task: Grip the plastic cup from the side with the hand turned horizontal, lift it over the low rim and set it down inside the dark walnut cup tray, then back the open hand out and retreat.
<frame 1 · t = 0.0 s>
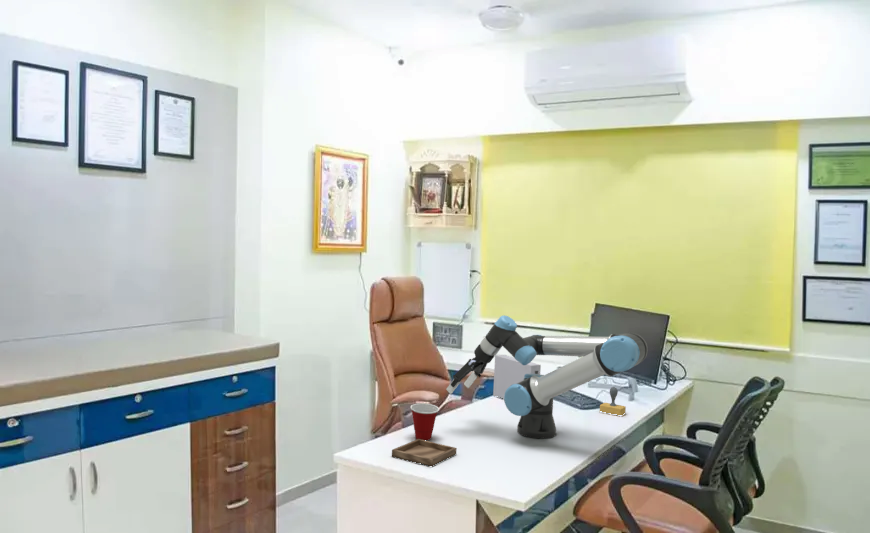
hand: (457, 388, 263), 15 cm above the table, tool tilted 35°, fingers open, 13 cm apart
cup tray: (424, 455, 227), on the table
plastic cup: (423, 439, 246), on the table
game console: (515, 402, 308), on the table
rubber stamp: (612, 414, 295), on the table
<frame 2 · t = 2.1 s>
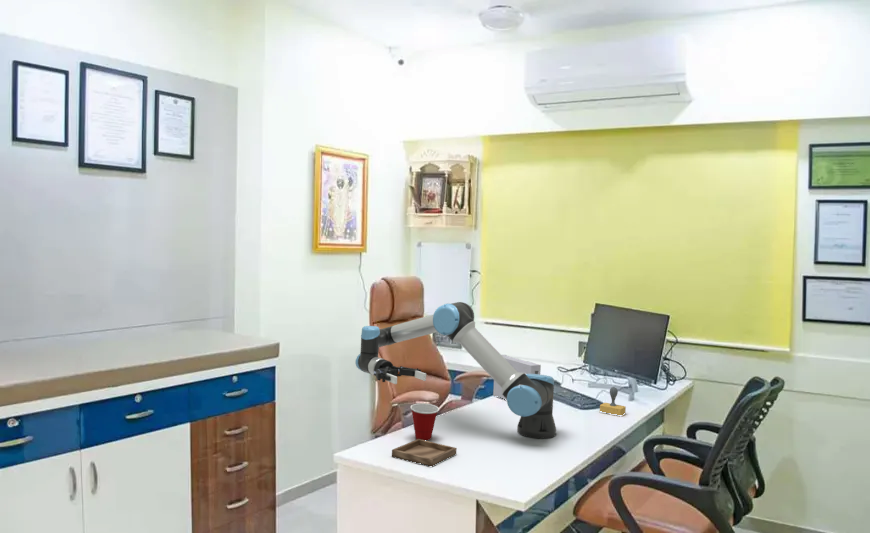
hand: (411, 378, 253), 21 cm above the table, tool horizontal, fingers open, 13 cm apart
nothing on the table moved.
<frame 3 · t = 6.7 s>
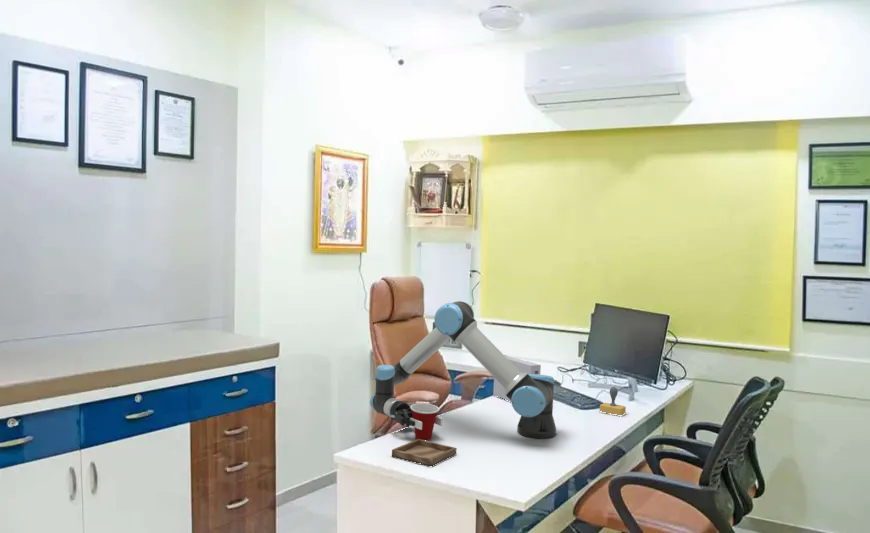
hand: (431, 424, 242), 7 cm above the table, tool horizontal, fingers closed on plastic cup, 9 cm apart
plastic cup: (423, 439, 246), on the table, touching gripper
everything else where it was.
when the fingers open (8 cm above the table, at t = 12.1 s): plastic cup drops 1 cm, resting on cup tray.
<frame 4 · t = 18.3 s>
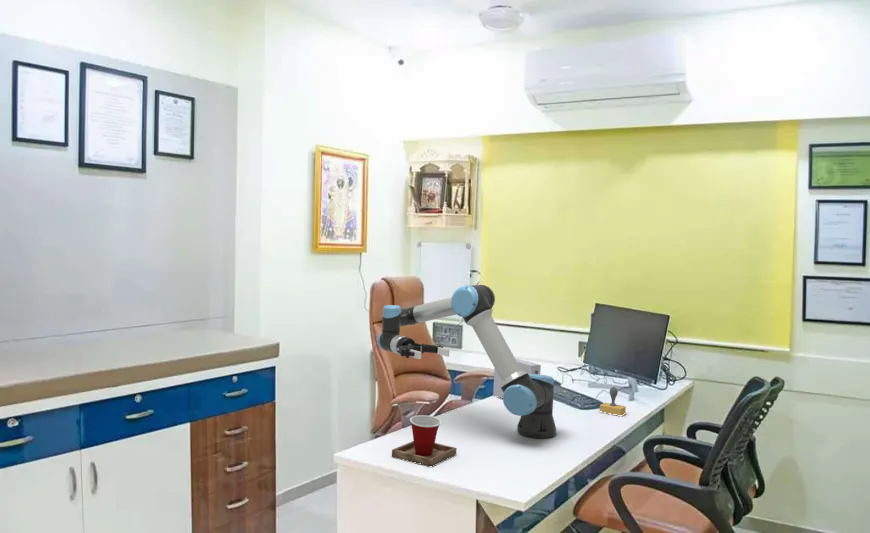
hand: (434, 354, 255), 30 cm above the table, tool horizontal, fingers open, 13 cm apart
plastic cup: (424, 454, 227), resting on cup tray
everything else where it was.
at the end: plastic cup inside the target area on the cup tray (0.1 cm from its centre), point 0.4 cm above the cup tray's base; plastic cup tilted 0°; the gripper is holding nothing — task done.
